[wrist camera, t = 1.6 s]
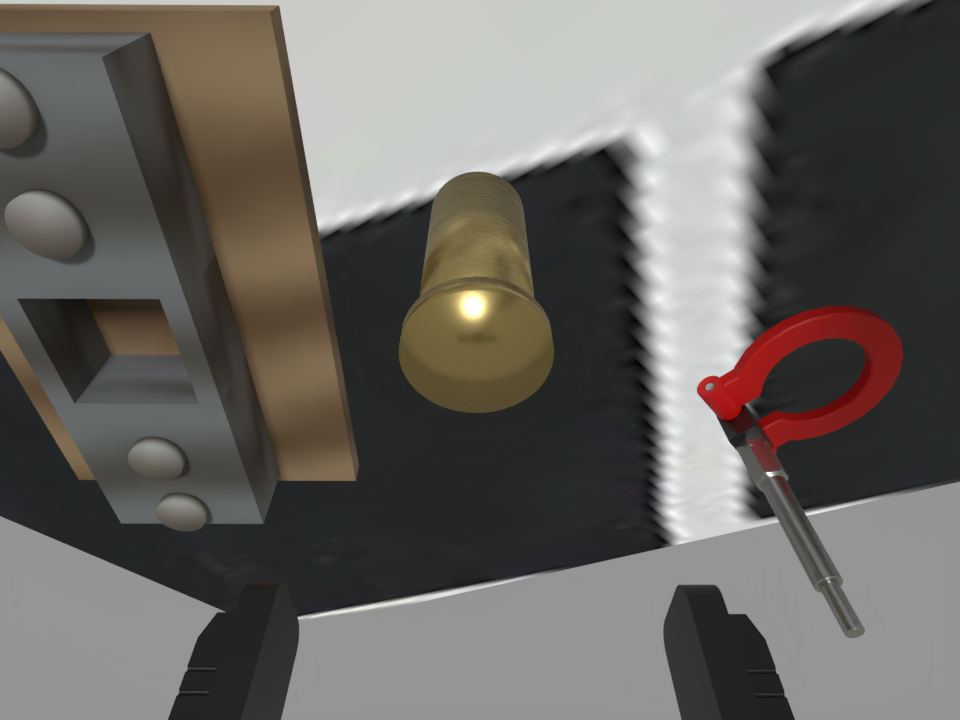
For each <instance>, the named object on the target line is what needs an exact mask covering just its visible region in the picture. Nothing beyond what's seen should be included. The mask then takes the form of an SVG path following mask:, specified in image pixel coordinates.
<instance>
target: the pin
mask: <svg viewBox="0 0 960 720" xmlns="http://www.w3.org/2000/svg"><path fill="white" fill-rule="evenodd" d="M553 359H554V346H553V340H552V333H551V326H550V323H549V320H548V317H547V315H546V313H545V311H544V310H543V308H542V307H541V305H540V304H539V303H538V302H537V301H536V300H535V299H534V291H533V283H532V275H531V267H530V258H529V250H528V242H527V234H526V226H525V218H524V210H523V205H522V201H521V199H520V197H519V195H518V193H517V192H516V190H515V189H514V188H513V186H512V185H511V184H509V183H508V182H507V181H506V180H504V179H503V178H501V177H499V176H497V175H494V174H491V173H487V172H478V171H477V172H468V173H464V174H461V175H458V176H456V177H454V178H452V179H451V180H449V181H448V182H447V183H445V184H444V185H443V186H442V188H441V189H440V190H439V191H438V193H437V195H436V197H435V199H434V202H433V205H432V211H431V218H430V225H429V232H428V239H427V246H426V253H425V260H424V267H423V274H422V281H421V288H420V296H419V298H418V299H417V300H416V301H415V302H414V304H413V305H412V306H411V308H410V309H409V311H408V313H407V315H406V317H405V319H404V322H403V326H402V332H401V338H400V344H399V360H400V365H401V368H402V370H403V373H404V375H405V376H406V378H407V380H408V381H409V383H410V384H411V385H412V386H413V387H414V389H415V390H416V391H417V392H419V393H420V394H421V395H422V396H424V397H425V398H426V399H428V400H430V401H431V402H433V403H435V404H437V405H439V406H442V407H445V408H447V409H451V410H455V411H460V412H467V413H487V412H494V411H498V410H502V409H506V408H509V407H511V406H514V405H516V404H518V403H520V402H522V401H524V400H525V399H527V398H528V397H530V396H531V395H532V394H533V393H535V392H536V391H537V390H538V389H539V388H540V387H541V385H542V384H543V383H544V381H545V380H546V378H547V376H548V375H549V373H550V370H551V367H552V364H553Z"/></svg>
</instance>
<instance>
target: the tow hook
mask: <svg viewBox="0 0 960 720" xmlns="http://www.w3.org/2000/svg"><path fill="white" fill-rule="evenodd" d="M828 338H843V339H847V340H851V341H855V342H857V343H858V344H860V345H861V346H862V347H863V348H864V353H865V363H864V369H863V371H862V373H861V375H860V377H859V379H858V380H857V381H856V382H855V384H854V385H853V386H852V387H851V388H850V389H849V390H848V391H847V392H846V393H845V394H843V395H842V396H841V397H840V398H838V399H837V400H835V401H833V402H831V403H830V404H828V405H826V406H823V407H821V408H818V409H815V410H812V411H807V412H802V413H784V412H779V411H777V412H773V413H771V414H769V415H767V416H765V417H764V418H762V419H760V420H758V419H757V418H756V417H755V416H754V415H753V413H752V412H751V411H750V410H749V408H748V407H747V406H746V405H745V404H746V403H748V402H750V401H752V400H753V399H755V398H757V397H759V396H760V394H761V393H762V387H763V384H764V382H765V379H766V377H767V375H768V374H769V372H770V371H771V370H772V368H773V367H774V366H775V365H776V364H777V363H778V362H779V361H780V360H781V359H782V358H783V357H784V356H786V355H787V354H789V353H791V352H792V351H794V350H795V349H797V348H799V347H801V346H804V345H806V344H809V343H811V342H814V341H819V340H823V339H828ZM902 359H903V351H902V345H901V340H900V338H899V337H898V335H897V334H896V332H895V331H894V329H893V328H892V327H891V326H890V325H889V324H888V323H887V322H886V321H885V320H884V319H882V318H881V317H879V316H878V315H876V314H875V313H873V312H872V311H870V310H866V309H862V308H858V307H854V306H827V307H822V308H818V309H813V310H808V311H805V312H802V313H800V314H797V315H795V316H793V317H790V318H788V319H786V320H783V321H781V322H780V323H778V324H777V325H775V326H774V327H772V328H771V329H769V330H768V331H766V332H765V333H763V334H762V335H761V336H760V337H759V338H757V339H756V340H755V341H754V342H753V343H752V344H751V345H750V346H749V347H748V348H747V349H746V350H745V352H744V353H743V355H742V356H741V358H740V359H739V361H738V362H737V364H736V365H735V367H734V369H733V370H731V371H729V372H728V373H726V374H724V375H723V376H721V377H718V376H708V377H706V378H704V379H703V380H702V381H701V382H700V383H699V385H698V387H697V394H698V395H699V396H700V397H701V398H702V399H703V401H704V402H705V403H706V404H707V405H708V406H709V407H710V409H711V410H712V411H713V412H714V413H715V414H716V417H717V419H718V421H719V423H720V425H721V427H722V429H723V431H724V433H725V435H726V437H727V439H728V441H729V443H730V444H731V445H732V446H733V447H734V448H735V449H736V450H737V451H738V453H739V455H740V456H741V458H742V461H743V462H744V464H745V466H746V468H747V470H748V472H749V474H750V476H751V478H752V480H753V482H754V483H755V485H756V486H757V487H758V488H759V489H760V491H762V492H764V494H765V496H766V498H767V500H768V502H769V504H770V506H771V507H772V509H773V511H774V513H775V515H776V517H777V519H778V521H779V523H780V525H781V527H782V528H783V530H784V532H785V534H786V536H787V538H788V540H789V542H790V544H791V546H792V548H793V549H794V551H795V553H796V555H797V557H798V559H799V561H800V563H801V565H802V567H803V568H804V570H805V572H806V574H807V576H808V578H809V580H810V582H811V584H812V586H813V588H814V589H815V591H817V592H820V593H822V594H823V595H824V597H825V599H826V601H827V603H828V605H829V607H830V609H831V610H832V612H833V614H834V616H835V618H836V620H837V622H838V624H839V625H840V627H841V629H842V631H843V633H844V635H845V636H846V637H848V638H857V637H859V636H861V635H863V634H864V632H865V628H864V627H863V625H862V623H861V621H860V620H859V618H858V616H857V614H856V612H855V611H854V609H853V607H852V605H851V604H850V602H849V600H848V598H847V597H846V595H845V593H844V591H843V589H842V588H841V586H842V584H843V579H842V577H841V575H840V574H839V572H838V570H837V568H836V567H835V565H834V563H833V561H832V560H831V558H830V556H829V554H828V553H827V551H826V549H825V547H824V546H823V544H822V542H821V540H820V539H819V537H818V535H817V533H816V532H815V530H814V528H813V526H812V525H811V523H810V521H809V519H808V518H807V516H806V514H805V512H804V511H803V509H802V507H801V505H800V504H799V502H798V500H797V498H796V497H795V495H794V493H793V491H792V490H791V488H790V486H789V484H788V483H787V481H788V479H789V477H788V475H787V473H786V472H785V470H784V468H783V466H782V465H781V463H780V461H779V459H778V458H777V456H776V452H777V447H778V446H780V445H782V444H784V443H786V442H787V441H789V440H803V439H808V438H813V437H818V436H822V435H825V434H827V433H830V432H833V431H836V430H838V429H841V428H843V427H844V426H846V425H848V424H850V423H852V422H853V421H855V420H857V419H859V418H860V417H862V416H863V415H864V414H865V413H867V412H868V411H869V410H871V409H872V408H873V407H874V406H876V405H877V404H878V403H879V402H880V400H881V399H882V398H883V397H884V396H885V395H886V394H887V392H888V391H889V390H890V389H891V387H892V385H893V384H894V382H895V380H896V378H897V376H898V374H899V373H900V368H901V364H902Z"/></svg>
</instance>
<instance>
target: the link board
mask: <svg viewBox="0 0 960 720" xmlns="http://www.w3.org/2000/svg"><path fill="white" fill-rule="evenodd" d="M0 350H1V352H2V353H3V355H4V357H5V358H6V360H7V362H8V363H9V365H10V367H11V368H12V370H13V372H14V373H15V375H16V377H17V378H18V380H19V382H20V383H21V385H22V387H23V388H24V390H25V391H26V393H27V395H28V396H29V398H30V400H31V401H32V403H33V405H34V406H35V408H36V410H37V411H38V413H39V415H40V416H41V418H42V420H43V421H44V423H45V424H46V426H47V428H48V429H49V431H50V433H51V434H52V436H53V438H54V439H55V441H56V443H57V444H58V446H59V448H60V449H61V451H62V453H63V454H64V456H65V458H66V459H67V461H68V462H69V464H70V466H71V467H72V469H73V471H74V472H75V474H76V476H77V477H78V479H79V480H96V481H97V482H98V484H99V486H100V488H101V489H102V491H103V493H104V495H105V496H106V498H107V500H108V501H109V503H110V505H111V507H112V508H113V510H114V512H115V514H116V515H117V517H118V519H119V520H120V522H121V524H164V525H165V526H167V527H169V528H172V529H174V530H178V531H185V532H190V531H196V530H199V529H200V528H202V527H203V526H204V524H264V521H265V518H266V515H267V512H268V509H269V506H270V503H271V500H272V497H273V494H274V491H275V488H276V484H277V481H356V478H357V473H358V468H359V462H358V456H357V450H356V445H355V439H354V433H353V427H352V422H351V416H350V410H349V404H348V398H347V393H346V387H345V381H344V375H343V370H342V364H341V358H340V352H339V347H338V341H337V335H336V329H335V324H334V318H333V312H332V306H331V301H330V295H329V289H328V283H327V277H326V272H325V266H324V260H323V254H322V249H321V243H320V237H319V231H318V226H317V220H316V214H315V208H314V203H313V197H312V191H311V185H310V180H309V174H308V168H307V162H306V157H305V151H304V145H303V139H302V133H301V128H300V122H299V116H298V110H297V105H296V99H295V93H294V87H293V82H292V76H291V70H290V64H289V59H288V53H287V47H286V41H285V36H284V30H283V24H282V18H281V12H280V7H279V5H129V4H0Z"/></svg>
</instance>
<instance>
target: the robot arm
mask: <svg viewBox="0 0 960 720" xmlns="http://www.w3.org/2000/svg"><path fill="white" fill-rule="evenodd" d="M663 637H664V646H665V652H666V656H667V661H668V665H669V669H670V673H671V678H672V682H673V686H674V690H675V695H676V699H677V703H678V707H679V712H680V716H681V720H795V718H794V715H793V713H792V710H791V707H790V705H789V702H788V699H787V698H786V697H785V694H784V693H785V691H784V688H783V686H782V683H781V680H780V677H779V675H778V674H777V673H776V667H775V664H774V661H773V658H772V656H771V653H770V650H769V648H768V645H767V642H766V639H765V638H764V637H763V635H762V634H761V633H760V632H759V630H758V629H757V628H756V626H755V625H754V624H753V623H752V621H751V620H750V619H749V617H748V616H747V615H746V614H729V613H728V610H727V607H726V604H725V601H724V598H723V596H722V593H721V591H720V589H719V588H718V587H717V586H716V585H678V586H677V587H676V590H675V592H674V595H673V598H672V601H671V604H670V606H669V609H668V612H667V615H666V618H665V621H664V627H663ZM298 642H299V621H298V617H297V614H296V611H295V608H294V606H293V603H292V600H291V597H290V594H289V591H288V589H287V586H286V584H285V583H247V584H246V585H245V586H244V588H243V590H242V592H241V594H240V597H239V600H238V603H237V606H236V609H235V612H217V613H216V615H215V616H214V617H213V618H212V620H211V621H210V622H209V624H208V625H207V626H206V627H205V629H204V630H203V631H202V633H201V634H200V635H199V636H198V638H197V641H196V644H195V646H194V649H193V652H192V655H191V657H190V660H189V663H188V666H187V667H188V669H187V671H186V672H185V674H184V677H183V679H182V682H181V685H180V688H179V694H178V696H176V698H175V701H174V704H173V707H172V709H171V712H170V715H169V718H168V720H281V718H282V713H283V709H284V705H285V701H286V696H287V692H288V688H289V683H290V679H291V675H292V670H293V666H294V662H295V658H296V653H297V649H298Z"/></svg>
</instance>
